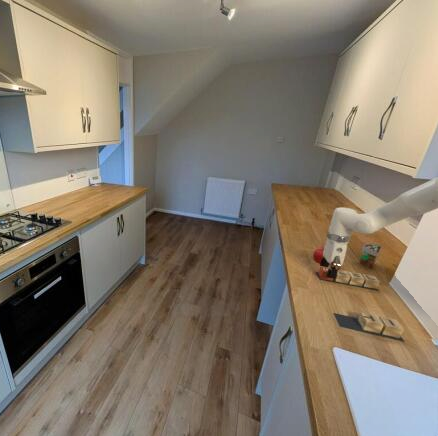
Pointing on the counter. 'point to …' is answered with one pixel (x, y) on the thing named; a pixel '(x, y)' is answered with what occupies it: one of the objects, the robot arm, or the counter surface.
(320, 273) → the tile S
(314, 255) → the pomegranate
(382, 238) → the counter surface
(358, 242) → the counter surface
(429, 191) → the robot arm
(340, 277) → the tile
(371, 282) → the light wood cube
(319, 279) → the word mat
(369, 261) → the food container
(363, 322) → the tan wooden cube
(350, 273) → the wooden letter cube
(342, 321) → the word mat
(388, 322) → the tile
